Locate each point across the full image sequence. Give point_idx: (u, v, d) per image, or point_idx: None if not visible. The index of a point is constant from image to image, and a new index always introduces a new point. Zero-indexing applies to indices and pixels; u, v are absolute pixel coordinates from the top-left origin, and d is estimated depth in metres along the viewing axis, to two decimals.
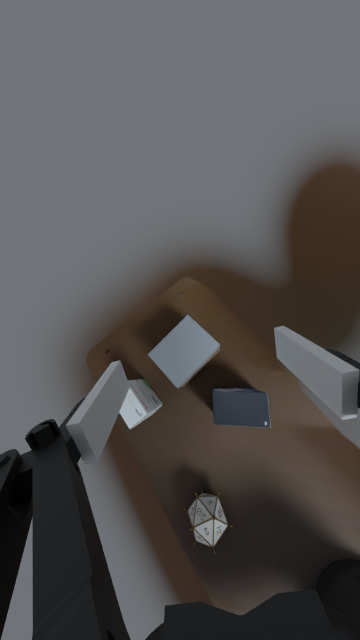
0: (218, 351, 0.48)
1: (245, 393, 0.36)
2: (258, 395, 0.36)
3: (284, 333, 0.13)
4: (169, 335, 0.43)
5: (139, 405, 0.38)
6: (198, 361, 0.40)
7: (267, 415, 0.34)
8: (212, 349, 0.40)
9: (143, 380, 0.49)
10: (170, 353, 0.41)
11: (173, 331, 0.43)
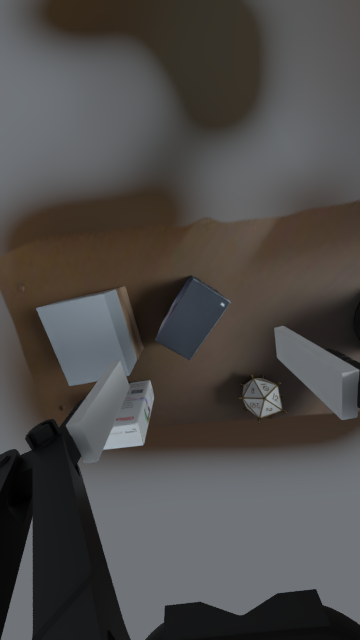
0: (123, 290, 0.33)
1: (178, 304, 0.25)
2: (189, 290, 0.24)
3: (284, 333, 0.13)
4: (56, 348, 0.28)
5: (123, 427, 0.29)
6: (110, 333, 0.27)
7: (216, 296, 0.25)
8: (104, 307, 0.26)
9: None
10: (82, 360, 0.28)
11: (52, 340, 0.27)
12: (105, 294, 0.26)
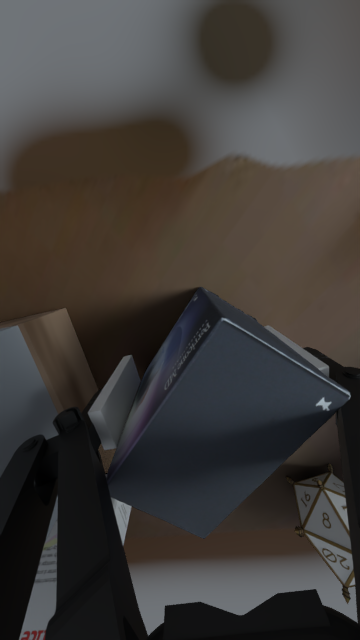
0: (57, 318, 0.16)
1: (167, 402, 0.07)
2: (208, 357, 0.07)
3: None
4: None
5: None
6: None
7: (304, 378, 0.07)
8: None
9: None
10: None
11: None
12: None
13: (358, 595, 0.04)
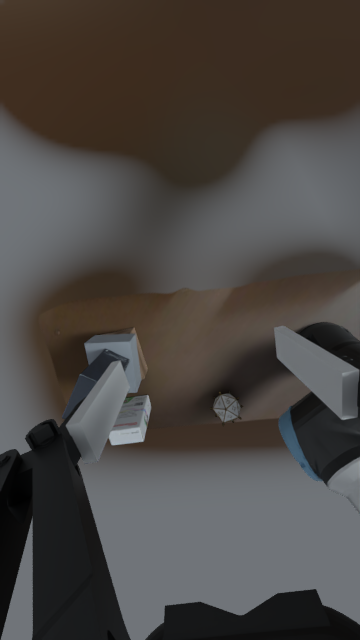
0: (133, 331, 0.48)
1: (73, 392, 0.32)
2: (79, 382, 0.31)
3: (284, 333, 0.13)
4: None
5: (130, 429, 0.44)
6: (129, 365, 0.42)
7: None
8: (129, 349, 0.41)
9: None
10: None
11: None
12: (130, 341, 0.41)
13: None
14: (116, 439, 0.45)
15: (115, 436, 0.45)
